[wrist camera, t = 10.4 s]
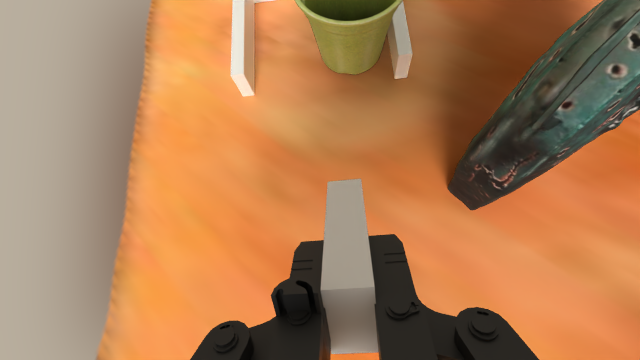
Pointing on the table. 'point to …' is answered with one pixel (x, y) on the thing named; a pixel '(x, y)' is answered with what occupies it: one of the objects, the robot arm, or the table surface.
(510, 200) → the table surface
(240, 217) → the table surface
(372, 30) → the plant pot
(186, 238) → the table surface
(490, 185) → the ceramic cat
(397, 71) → the white u-shaped frame
